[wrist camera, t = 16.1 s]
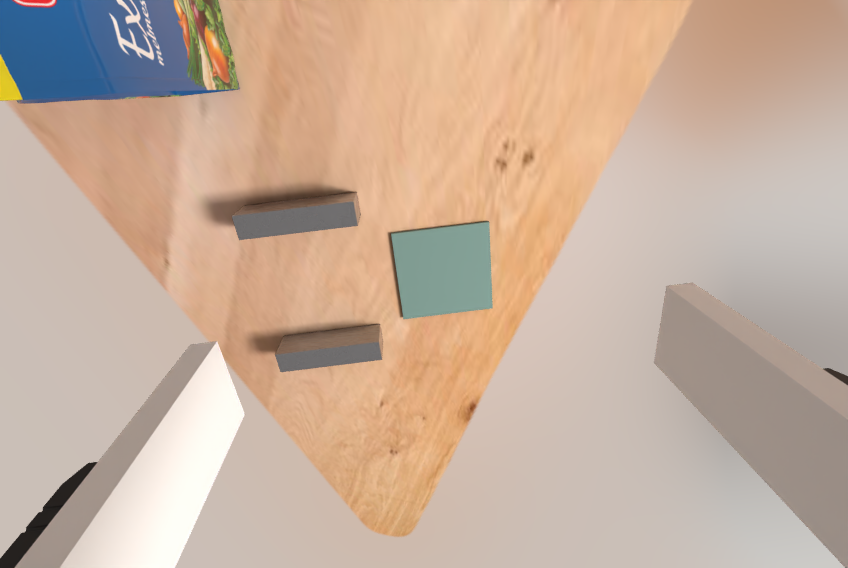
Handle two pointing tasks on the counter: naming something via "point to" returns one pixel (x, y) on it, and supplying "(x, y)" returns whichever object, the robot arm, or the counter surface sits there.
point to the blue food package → (112, 49)
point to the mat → (443, 269)
